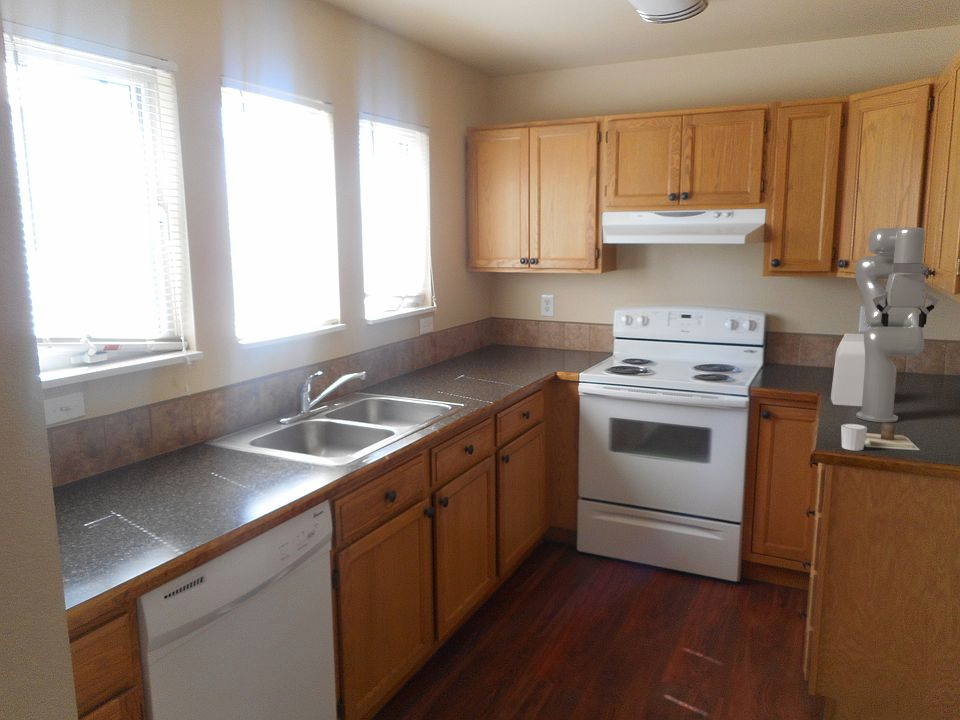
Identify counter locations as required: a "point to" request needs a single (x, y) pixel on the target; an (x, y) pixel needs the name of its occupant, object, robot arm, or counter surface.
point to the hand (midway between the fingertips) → (903, 326)
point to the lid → (888, 438)
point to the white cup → (853, 436)
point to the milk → (849, 371)
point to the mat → (891, 447)
